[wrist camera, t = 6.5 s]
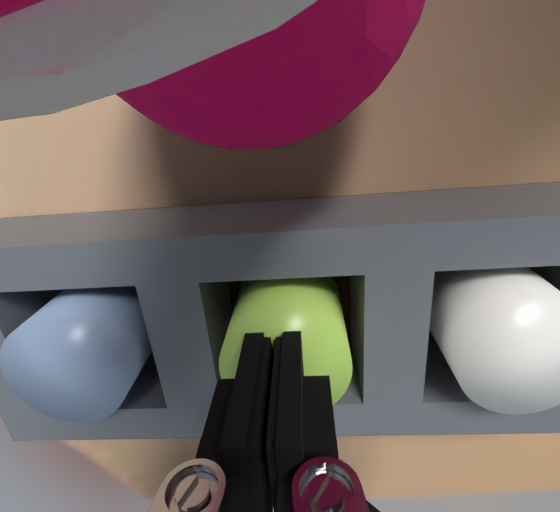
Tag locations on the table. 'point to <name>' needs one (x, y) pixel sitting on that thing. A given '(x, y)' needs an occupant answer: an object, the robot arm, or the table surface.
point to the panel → (283, 265)
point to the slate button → (78, 353)
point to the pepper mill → (204, 61)
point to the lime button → (293, 326)
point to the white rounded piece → (500, 336)
